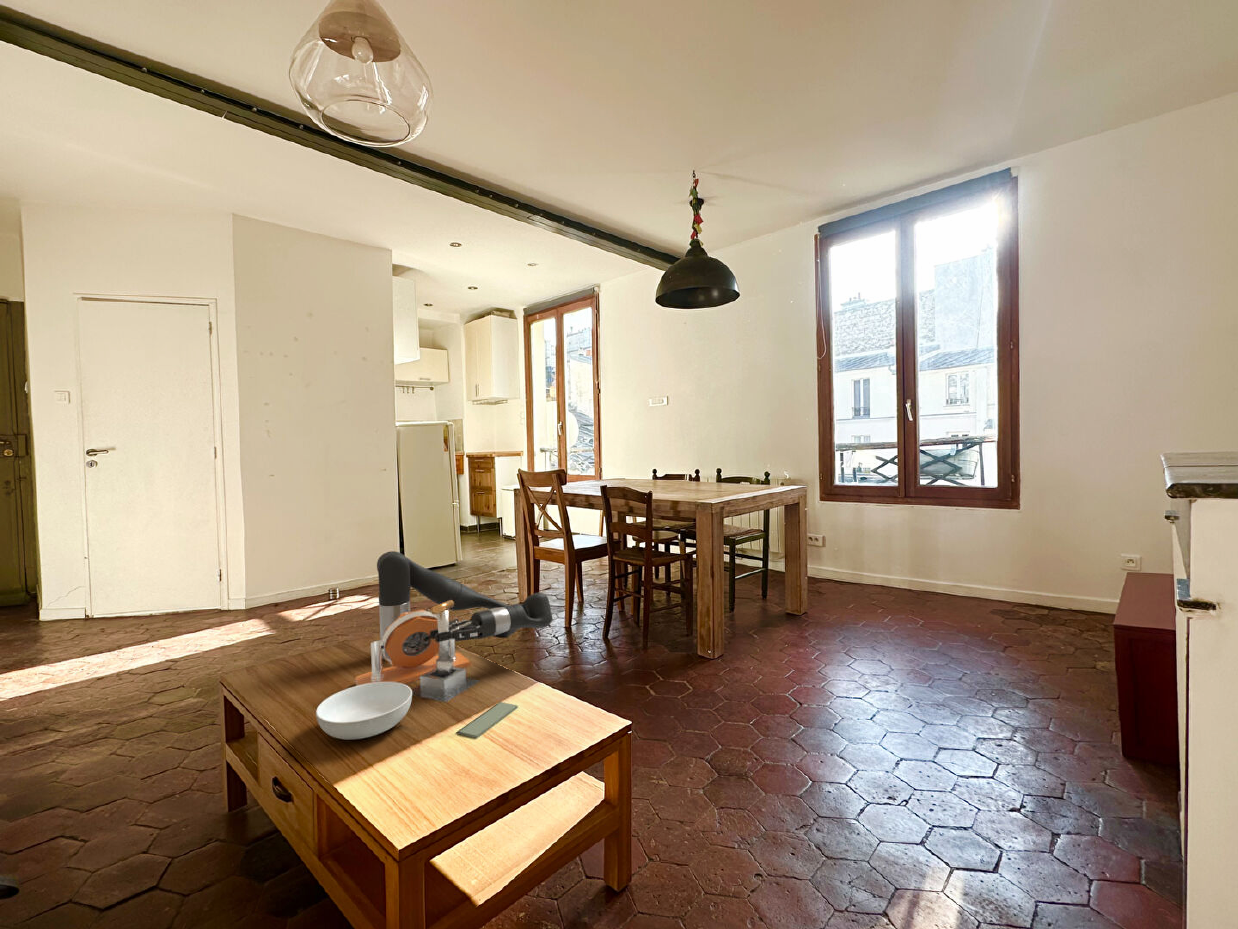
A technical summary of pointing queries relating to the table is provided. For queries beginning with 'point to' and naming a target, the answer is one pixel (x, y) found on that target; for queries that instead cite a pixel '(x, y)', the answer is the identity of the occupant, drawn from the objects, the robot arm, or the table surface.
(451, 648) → the desk clock
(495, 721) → the rubber mat
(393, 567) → the robot arm
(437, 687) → the chuck block
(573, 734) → the table surface
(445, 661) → the cylinder
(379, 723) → the serving bowl
